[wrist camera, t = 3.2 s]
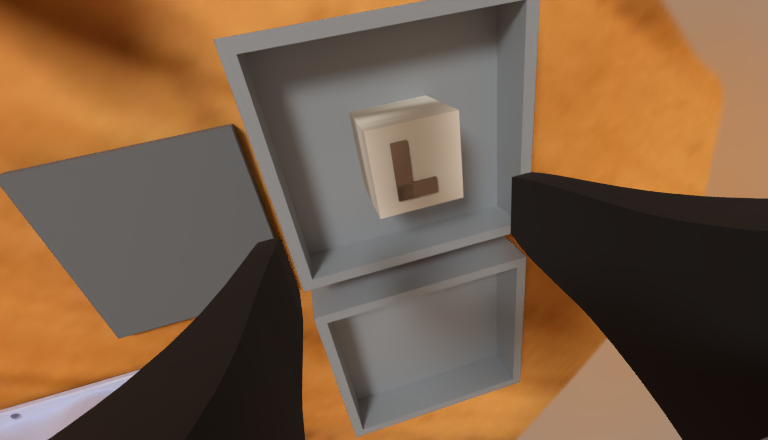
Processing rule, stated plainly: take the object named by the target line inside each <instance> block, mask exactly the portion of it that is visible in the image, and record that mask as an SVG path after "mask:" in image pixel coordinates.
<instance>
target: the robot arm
mask: <svg viewBox="0 0 768 440" xmlns="http://www.w3.org/2000/svg"><path fill="white" fill-rule="evenodd" d="M511 234H512V235H513V237H514V238H515V240H516V241H517V242H518V244H519V245H520V246H521V248H522V249H523V250H524V251H525V253H526V254H527V255H528V256H529V257H530V258H531V259H532V261H533V262H534V263H535V264H537V265H538V266H539V267H540V268H541V269H542V270H543V271H544V272H545V273H546V274H547V275H548V276H549V277H550V278H551V279H552V280H553V281H554V282H555V283H556V284H557V285H558V286H559V287H560V288H561V289H562V290H563V291H564V292H565V293H566V294H567V295H568V296H569V297H571V298H572V299H573V300H574V301H575V302H576V303H577V304H578V305H579V306H580V307H581V308H582V309H583V310H584V311H585V313H586V314H587V315H588V316H589V317H590V318H591V319H592V320H593V321H594V323H595V324H596V325H597V326H598V327H599V329H600V330H601V331H602V332H603V333H604V335H605V336H606V337H607V338H608V339H609V340H610V342H611V343H612V344H613V345H614V346H615V348H616V349H617V350H618V352H619V353H620V354H621V355H622V357H623V358H624V359H625V361H626V362H627V363H628V364H629V366H630V367H631V368H632V370H633V371H634V372H635V373H636V375H637V376H638V377H639V379H640V380H641V381H642V383H643V384H644V386H645V387H646V388H647V390H648V391H649V392H650V393H651V395H652V396H653V398H654V399H655V401H656V402H657V403H658V405H659V406H660V408H661V409H662V410H663V411H664V413H665V414H666V416H667V417H668V419H669V420H670V422H671V423H672V425H673V426H674V428H675V429H676V430H677V432H678V434H679V435H680V437H681V438H682V440H768V199H755V198H725V197H706V196H693V195H682V194H671V193H661V192H653V191H645V190H638V189H632V188H625V187H619V186H613V185H607V184H601V183H596V182H590V181H585V180H580V179H574V178H569V177H563V176H558V175H551V174H545V173H534V172H529V173H525V174H521V175H517V176H514V177H512V190H511ZM302 365H303V316H302V307H301V299H300V291H299V289H298V286H297V283H296V281H295V278H294V275H293V273H292V270H291V267H290V264H289V262H288V259H287V256H286V254H285V251H284V248H283V245H282V243H281V240H280V237H277V238H273V239H269V240H265V241H262V242H258V243H257V244H256V245H255V246H254V248H253V249H252V250H251V252H250V253H249V254H248V256H247V257H246V258H245V260H244V261H243V262H242V264H241V265H240V266H239V268H238V269H237V270H236V271H235V273H234V274H233V275H232V277H231V278H230V279H229V280H228V282H227V283H226V284H225V286H224V287H223V288H222V289H221V290H220V291H219V293H218V294H217V295H216V296H215V297H214V298H213V300H212V301H211V302H210V303H209V304H208V305H207V307H206V308H205V309H204V310H203V311H202V312H201V313H200V314H199V316H198V317H197V318H196V319H195V320H194V321H193V322H192V323H191V324H190V325H189V326H188V327H187V328H186V329H185V330H184V331H183V332H182V333H181V334H180V335H179V336H178V337H177V338H176V339H175V340H174V341H172V342H171V343H170V344H169V345H168V346H167V347H166V348H165V349H164V350H163V351H162V352H160V353H159V354H158V355H157V356H156V357H155V358H153V359H152V360H151V361H150V362H149V363H147V364H146V365H145V366H144V367H143V368H142V369H140V370H137V371H133V372H130V373H126V374H123V375H119V376H116V377H113V378H109V379H106V380H102V381H99V382H95V383H92V384H89V385H85V386H82V387H78V388H75V389H71V390H68V391H64V392H61V393H58V394H54V395H51V396H47V397H44V398H40V399H37V400H34V401H30V402H27V403H23V404H20V405H16V406H13V407H9V408H6V409H3V410H0V440H305V434H304V423H303V411H302Z"/></svg>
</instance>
